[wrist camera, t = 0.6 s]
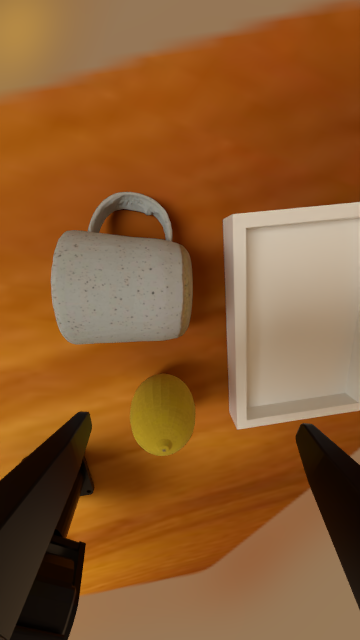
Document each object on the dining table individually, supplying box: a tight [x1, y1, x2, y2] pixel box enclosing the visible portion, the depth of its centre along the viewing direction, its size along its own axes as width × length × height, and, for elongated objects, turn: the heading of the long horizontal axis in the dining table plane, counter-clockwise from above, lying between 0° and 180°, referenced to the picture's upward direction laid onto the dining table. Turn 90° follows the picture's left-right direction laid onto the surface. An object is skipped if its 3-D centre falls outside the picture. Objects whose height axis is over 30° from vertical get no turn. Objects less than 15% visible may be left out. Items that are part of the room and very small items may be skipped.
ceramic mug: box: [51, 192, 193, 344], centre depth 15 cm, size 11×8×8 cm
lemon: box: [130, 374, 195, 456], centre depth 18 cm, size 6×6×8 cm
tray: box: [223, 202, 360, 430], centre depth 20 cm, size 20×14×2 cm
